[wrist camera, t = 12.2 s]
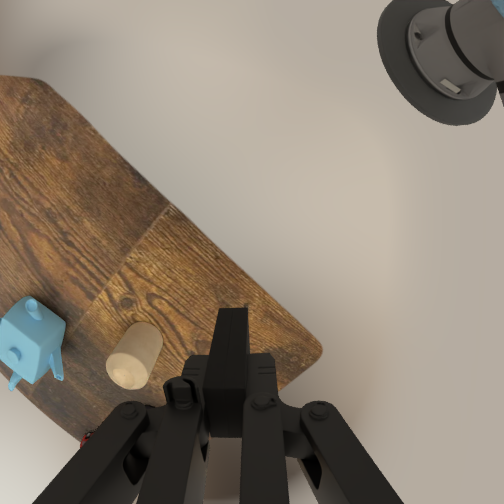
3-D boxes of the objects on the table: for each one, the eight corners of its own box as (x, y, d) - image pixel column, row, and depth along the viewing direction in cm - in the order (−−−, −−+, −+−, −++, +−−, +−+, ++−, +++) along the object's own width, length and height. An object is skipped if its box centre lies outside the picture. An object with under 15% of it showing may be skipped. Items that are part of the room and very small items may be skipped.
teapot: (27, 261, 40) (-13, 284, 30) (99, 312, 42) (67, 347, 32) (10, 342, 44) (-21, 370, 34) (71, 386, 46) (46, 422, 36)
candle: (120, 328, 43) (93, 367, 33) (149, 315, 42) (126, 354, 32) (140, 358, 44) (119, 400, 34) (170, 347, 43) (153, 390, 34)
